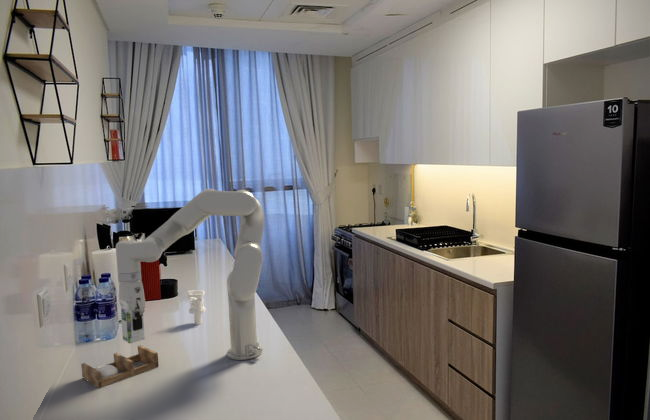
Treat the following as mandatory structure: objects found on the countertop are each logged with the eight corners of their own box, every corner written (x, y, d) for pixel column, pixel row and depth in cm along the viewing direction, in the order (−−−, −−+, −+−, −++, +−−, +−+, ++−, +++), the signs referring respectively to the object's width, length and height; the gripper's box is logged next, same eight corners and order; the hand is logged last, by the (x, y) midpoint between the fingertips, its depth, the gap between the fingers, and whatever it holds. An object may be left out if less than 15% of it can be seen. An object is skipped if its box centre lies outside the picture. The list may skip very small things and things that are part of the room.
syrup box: (122, 340, 178) (119, 299, 176) (138, 335, 182) (135, 295, 180) (129, 344, 174) (126, 302, 172) (145, 339, 178) (143, 298, 176)
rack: (158, 366, 179) (157, 352, 178) (98, 388, 163) (97, 373, 163) (141, 358, 187) (140, 345, 186) (82, 378, 171) (81, 363, 171)
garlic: (90, 378, 172) (89, 367, 171) (108, 371, 177) (107, 360, 177) (104, 383, 167) (103, 372, 167) (122, 375, 173) (121, 365, 172)
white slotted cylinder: (188, 322, 226) (186, 289, 224) (204, 319, 229) (202, 287, 228) (192, 327, 220) (189, 293, 218) (208, 324, 223) (206, 290, 221)
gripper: (152, 277, 173) (156, 329, 174) (127, 271, 184) (131, 320, 186) (131, 282, 167) (135, 336, 169) (107, 275, 179) (111, 325, 180)
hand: (133, 327), depth 177 cm, fingers closed on syrup box, 5 cm apart
